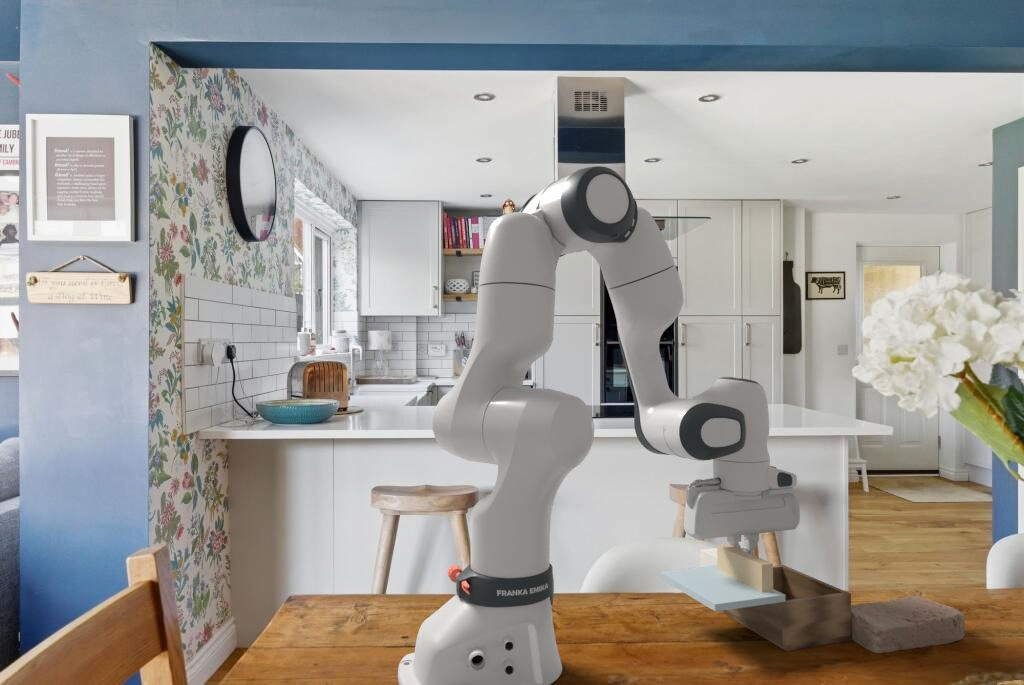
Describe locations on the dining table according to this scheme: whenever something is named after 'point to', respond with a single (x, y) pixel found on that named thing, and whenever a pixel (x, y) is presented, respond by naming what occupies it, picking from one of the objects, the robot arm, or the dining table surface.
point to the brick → (905, 624)
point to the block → (708, 557)
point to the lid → (728, 581)
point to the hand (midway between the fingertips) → (743, 560)
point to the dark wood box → (800, 612)
